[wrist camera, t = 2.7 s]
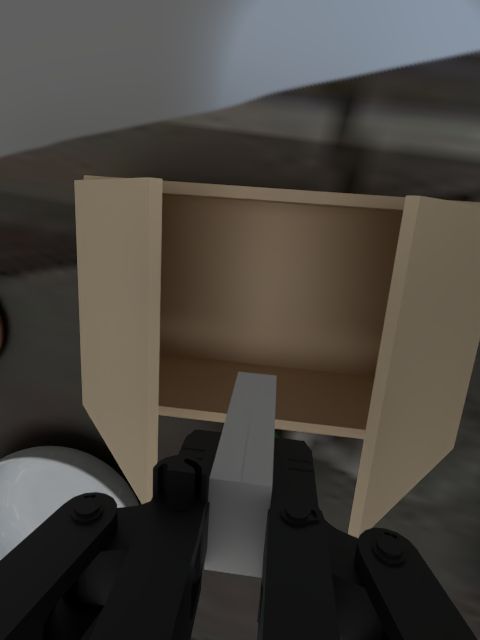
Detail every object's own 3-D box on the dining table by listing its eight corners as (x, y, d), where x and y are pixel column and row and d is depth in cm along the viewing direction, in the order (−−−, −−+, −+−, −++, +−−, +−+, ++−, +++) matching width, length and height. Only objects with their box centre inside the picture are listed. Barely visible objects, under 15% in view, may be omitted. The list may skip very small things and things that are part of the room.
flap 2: (445, 444, 31) (453, 448, 31) (347, 534, 22) (357, 540, 21) (499, 210, 26) (510, 210, 26) (405, 195, 17) (420, 196, 17)
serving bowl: (57, 584, 55) (26, 635, 49) (-32, 459, 51) (-79, 496, 45) (189, 538, 51) (175, 587, 44) (102, 397, 47) (72, 428, 40)
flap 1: (156, 507, 22) (146, 511, 22) (90, 402, 33) (82, 404, 33) (162, 178, 18) (149, 177, 18) (83, 181, 29) (74, 180, 28)
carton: (400, 383, 43) (443, 448, 31) (140, 356, 45) (91, 406, 34) (435, 205, 38) (500, 203, 26) (141, 185, 40) (83, 175, 29)
